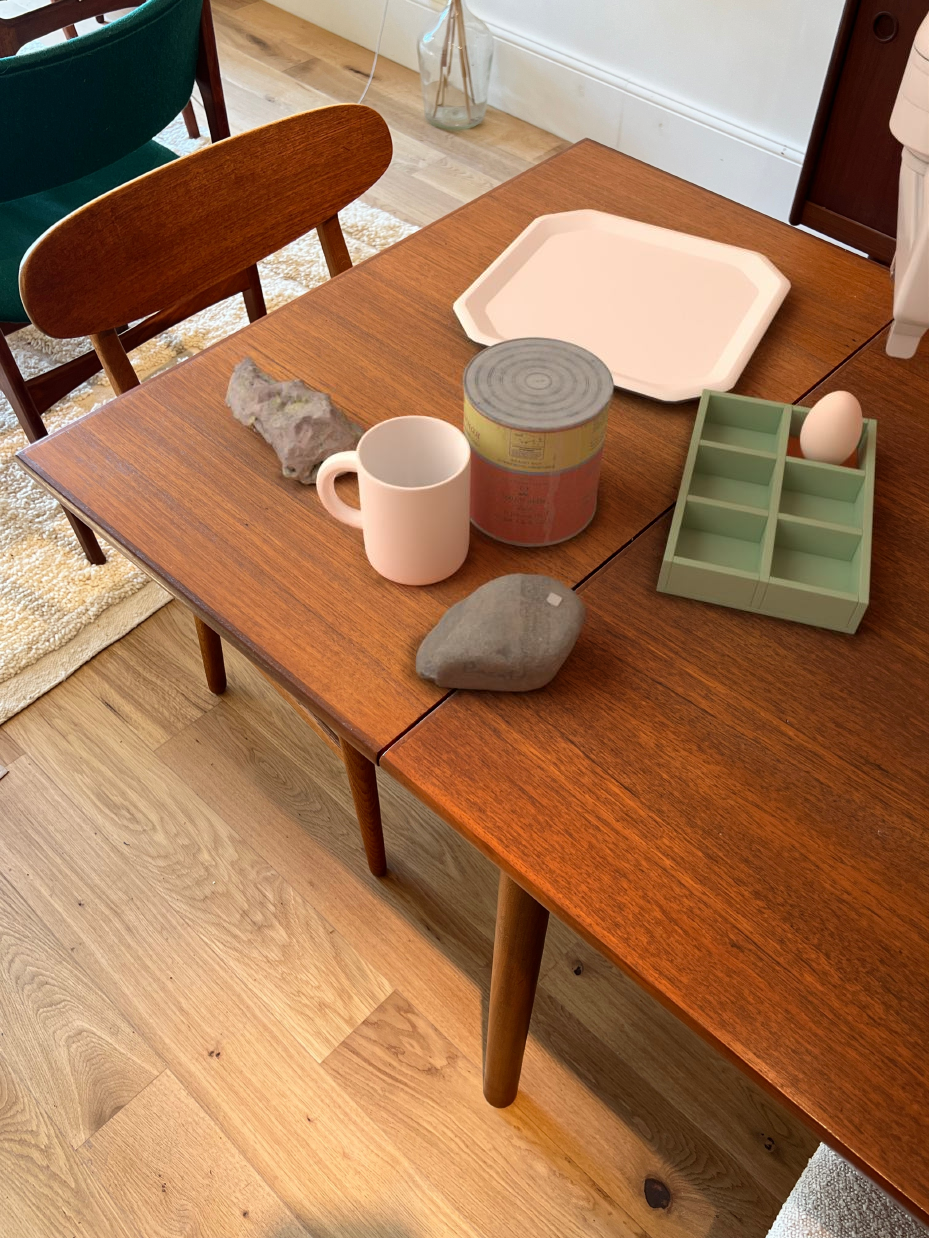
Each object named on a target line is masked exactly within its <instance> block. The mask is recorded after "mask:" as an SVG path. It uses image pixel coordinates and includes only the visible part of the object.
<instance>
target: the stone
mask: <svg viewBox="0 0 929 1238" xmlns="http://www.w3.org/2000/svg"><path fill="white" fill-rule="evenodd" d="M585 619H586V606H585V604H584V602H583V600H582V599H581V597H580V596H579V595H578V594H577V593H576V592H575V591H574V590H573V589H572V588H571V587H569V586H568V585H566V584H565V583H563V582H561V581H560V580H558V579H556V578H555V577H551V576H547V575H545V574H536V573H535V574H525V573H520V572H517V573H510V574H505V575H503V576H499V577H497V578H494V579H492V580H489V581H487V582H486V583H484V584H482V585H481V586H479V587H478V588H476V590H474V591H473V592H471V593H470V594H469V595H468V596H466V597H465V598H463V599H462V600H459V601H458V602H456V603H455V604H453V605H452V606H450V607H449V608H448V609H447V610H446V611H445V612H444V614H443V615H442V617H441V618H440V620H439V621H438V623H436V625H435V626H433V628H432V629H431V630H430V631H429V632H428V633H427V635H426V636H425V638H424V639H423V640H422V642H421V644H420V646H419V647H418V650H417V653H416V657H415V672H416V674H417V675H418V676H419V677H420V678H421V679H422V680H425V681H428V682H433V683H435V685H437V686H438V687H441V688H449V689H450V688H451V689H460V690H461V689H463V690H483V691H484V690H485V691H494V692H527V691H531V690H532V691H533V690H537V689H540V688H543V687H544V686H546V685H548V684H549V683H550V682H551V681H552V680H553V679H554V677H555V676H556V675H557V673H558V672H559V670H560V669H561V667H562V666H563V664H564V663H565V661H566V660H567V658H568V657H569V655H570V653H571V652H572V651H573V648H574V646H575V645H576V642H577V641H578V638H579V636H580V634H581V631H582V629H583V626H584V623H585Z"/></svg>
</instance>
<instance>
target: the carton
mask: <svg viewBox="0 0 929 1238" xmlns="http://www.w3.org/2000/svg"><path fill="white" fill-rule="evenodd" d="M812 408H813V407H806V406H802V405H795V404H790V403H784V402H779V401H775V400H769V399H765V398H758V397H752V396H746V395H742V394H735V393H730V392H728V393H725V392H720V391H714V390H708V389H703V392H702V396H701V399H699V405H698V409H697V413H696V418H695V422H694V426H693V431H692V434H691V439H690V442H689V443H690V444H689V447H688V452H687V455H686V461H685V465H684V468H683V473H682V478H681V482H680V486H679V491H678V495H677V499H676V502H675V503H676V504H675V507H674V512H673V517H672V520H671V525H670V528H669V530H670V531H669V533H668V537H667V543H666V547H665V550H664V554H663V558H662V565H661V568H660V573H659V575H658V580H657V585H656V589H655V591H656V592H659V593H663V594H668V595H673V596H677V597H682V598H686V599H691V600H695V601H700V602H704V603H709V604H714V605H717V606H722V607H727V608H732V609H736V610H740V611H746V612H749V613H754V614H759V615H764V616H768V617H772V618H777V619H781V620H786V621H791V622H795V623H800V624H805V625H808V626H813V627H818V628H823V629H827V630H830V631H831V630H832V631H836V632H841V633H846V634H850V635H855V633H856V631H857V629H858V627H859V625H860V623H861V621H862V619H863V617H864V614H865V613H866V610H867V608H868V607H869V605H870V587H871V586H870V584H871V565H872V564H871V563H872V562H871V561H872V543H873V541H872V539H873V518H874V515H873V514H874V496H875V475H876V474H875V472H876V450H877V429H878V428H877V426H878V420H877V419H874V418H873V419H872V418H867V417H862V422H863V426H862V432H861V436H860V439H859V442H858V444H857V446H856V448H855V450H854V451H853V453H852V454H851V455H850V457H849V458H848V459H847V460H845V461H844V462H843V463H841V464H840V465H838V466H837V465H832V464H826V463H821V462H816V461H811V460H806V459H805V457H804V456H803V454H802V450H801V445H800V434H801V430H802V426H803V424H804V421H805V419H806V417H807V415H808V414H809V412H810V410H811V409H812Z"/></svg>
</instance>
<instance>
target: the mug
mask: <svg viewBox="0 0 929 1238" xmlns="http://www.w3.org/2000/svg"><path fill="white" fill-rule="evenodd" d="M470 467H471V450H470V445H469V443H468V441H467V439H466V437H465V436H464V432H462V430H460V429H459V428H458V427H456V426H455V425H453V424H452V423H450V422H448V421H445V420H443V419H440V418H437V417H432V416H426V415H403V416H396V417H392V418H390V419H386V420H383V421H381V422H378V423H377V424H375V425H374V426H372V427H371V428H370V429H368V430H366V433H365V434H364V435H363V437H362V438H361V440H360V441H359V443H358V446H357V449H356V451H346V452H340V453H337V454H334V455H332V456H331V457H329V458H328V459H327V460H326V461H325V462H324V463H323V464H322V465H321V467H320V468H319V471H318V474H317V481H316V483H315V484H316V491H317V494H318V497H319V499H320V502H321V503H322V505H323V506H324V508H325V509H326V510H327V512H328V513H329V514H330V515H331V516H332V517H333V518H334V519H336V520H338V521H339V522H341V523H343V524H345V525H347V526H350V527H353V528H355V529H358V530H362V534H363V541H364V542H363V543H364V548H365V554H366V556H367V560H368V562H369V563H370V565H371V566H372V568H373V569H374V570H375V571H377V573H378V574H379V575H380V576H382V577H384V578H385V579H387V580H389V581H392V582H394V583H397V584H401V585H408V586H427V585H431V584H435V583H438V582H441V581H444V580H445V579H447V578H449V577H450V576H452V575H453V574H454V573H456V572H457V571H458V570H459V569H460V568H461V566H462V565H463V564H464V562H465V560H466V559H467V555H468V551H469V547H470V546H469V544H470V527H471V525H470V523H471V521H470ZM344 471H348V472H352V473H357V480H358V481H357V482H358V492H359V504H360V509H358V508H357V509H356V508H354V507H352V506H349V505H347V504H346V503H345V502H343V501H342V500H341V499H340V497H339V496H338V494H337V493H336V490H335V483H334V482H335V479H336V477H335V476H336V475H337V474H338V473H340V472H344Z"/></svg>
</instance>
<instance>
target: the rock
mask: <svg viewBox="0 0 929 1238" xmlns="http://www.w3.org/2000/svg"><path fill="white" fill-rule="evenodd" d="M224 404H225V405H226V406H227V407H228V408H229V409H231V412H232V417H233V418H234V419H235V420H238V421H239V422H241V424H242V425H243V426H246V427H247V426H248V427H250V428H251V429H252V430H253V431H254V433H257V434H261V436H262V437H263V439H264V440H265V441H266V443H267V444H268V445H269V446H272V448H273V449H274V452H275V453H276V455H277V457H278V460H279V461H280V462H281V464H282V475H283V476H284V477H285V478H286V479H289V480H295V481H299V482H301V484H304V485H306V486H307V485H310V484H316V481H317V474H318V471H319V468H320V467H321V465H322V464H323V463H324V462H325V461H326V460H327V459H328V458H329V457H331V456H332V455H334V454H337V453H340V452H346V451H356V449H357V446H358V443H359V441H360V440H361V438H362V437H363V435H364V434H365V433H366V432H367V430H365V429H364V427H363V426H361V425H360V424H359V423H357V422H354V421H352V420H351V419H350V418H349V417H347V415H346V414H345V412H344V410H343V408H340V407H337V406H336V405H335V403H334V402H333V401H332V396H331V393H329V392H317V391H315V390H313V389H311V388H310V387H309V386H307V384H306V383H305V381H304V380H303V379H301V378H294V379H293V380H290V381H287V380H286V381H280V380H277V379H276V378H274V377H273V376H272V374H267V373H265V372H263V371H262V369H261V368H260V367H258V365H257V364H256V363H255V361H254V360H253V359H252V358H251V357H250V356H249V355H246V356H245V357H244V358H243V360H242V361H241V362H240V363H237V364H235V365H234V368H233V372H232V374H231V377H230V379H229V382H228V387H227V390H226V395H225V399H224ZM348 472H349V471H344V472H340V473H338V474H337V475H336V476H335V478H338V477H340V476H344V475H345V474H347V473H348Z"/></svg>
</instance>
